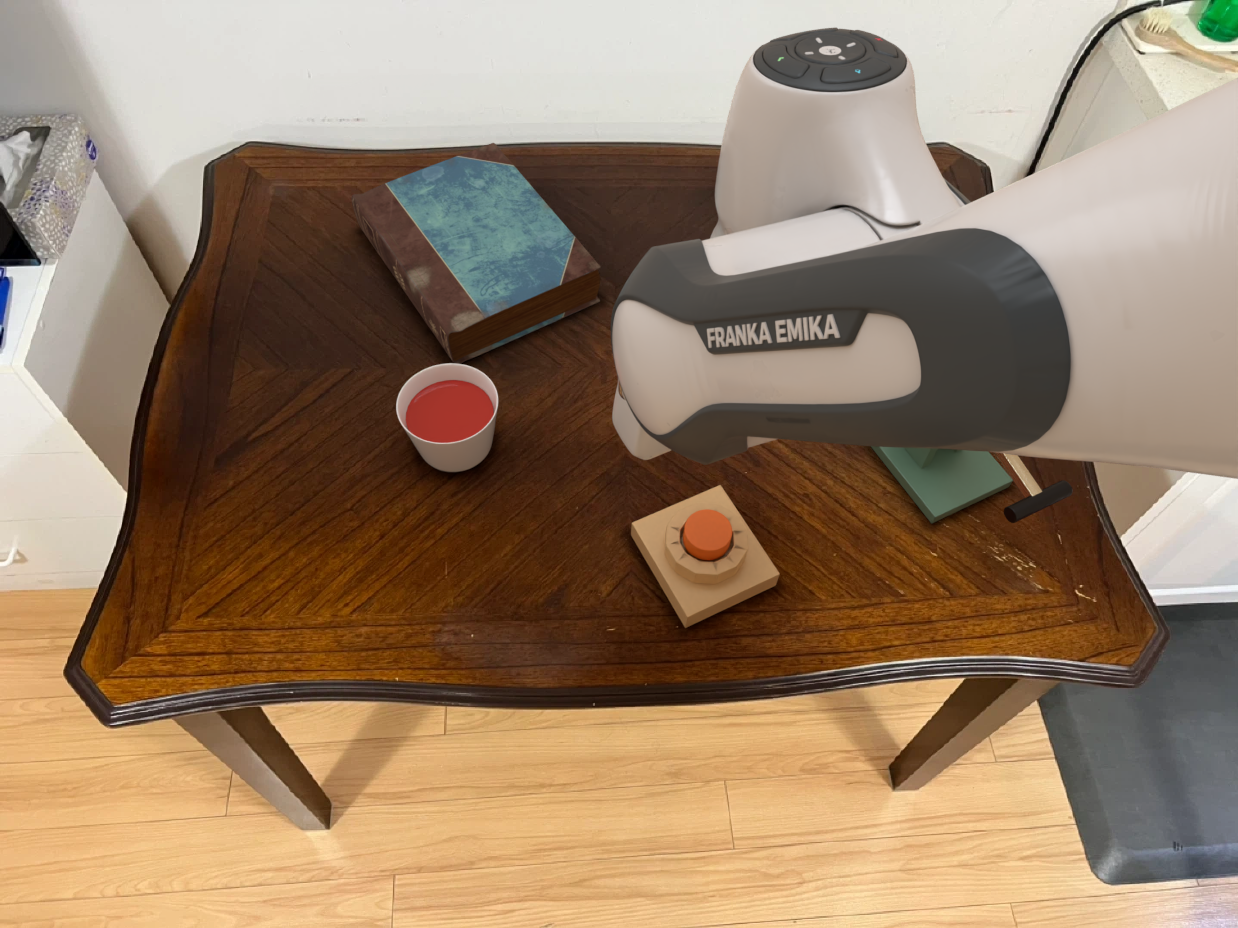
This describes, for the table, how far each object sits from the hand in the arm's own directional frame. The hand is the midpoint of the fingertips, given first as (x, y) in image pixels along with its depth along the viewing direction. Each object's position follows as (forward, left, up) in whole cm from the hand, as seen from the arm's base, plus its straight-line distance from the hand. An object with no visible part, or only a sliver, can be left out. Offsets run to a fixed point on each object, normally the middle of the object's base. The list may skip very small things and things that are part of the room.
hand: (746, 434), depth 68 cm
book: (+43, +5, -19) cm, 47 cm away
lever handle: (-4, -24, -11) cm, 27 cm away
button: (+1, +1, -15) cm, 15 cm away
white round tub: (+22, +16, -19) cm, 33 cm away
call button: (+1, +1, -19) cm, 19 cm away
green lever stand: (+2, -24, -19) cm, 31 cm away
